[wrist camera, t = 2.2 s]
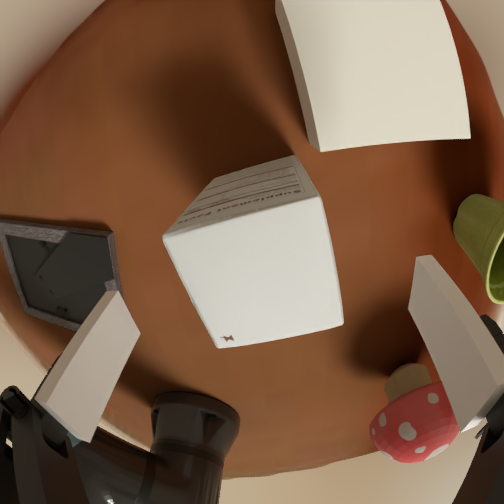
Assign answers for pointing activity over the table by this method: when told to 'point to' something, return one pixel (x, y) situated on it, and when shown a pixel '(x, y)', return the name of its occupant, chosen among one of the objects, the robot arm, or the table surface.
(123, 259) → the table surface
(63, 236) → the picture frame
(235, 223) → the supplement box
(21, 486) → the robot arm
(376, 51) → the plinth
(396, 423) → the decorative mushroom
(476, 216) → the plant pot
